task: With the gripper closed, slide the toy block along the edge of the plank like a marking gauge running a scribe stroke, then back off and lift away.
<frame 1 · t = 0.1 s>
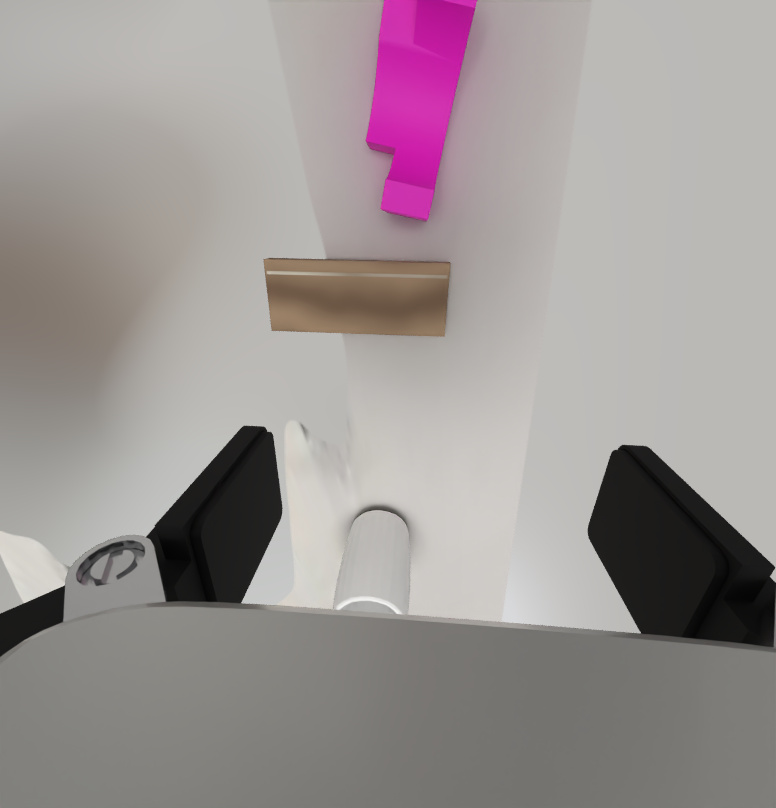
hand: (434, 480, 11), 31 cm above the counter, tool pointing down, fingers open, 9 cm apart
cup: (380, 525, 52), on the counter
plank: (358, 296, 39), on the counter
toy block: (411, 119, 33), on the counter
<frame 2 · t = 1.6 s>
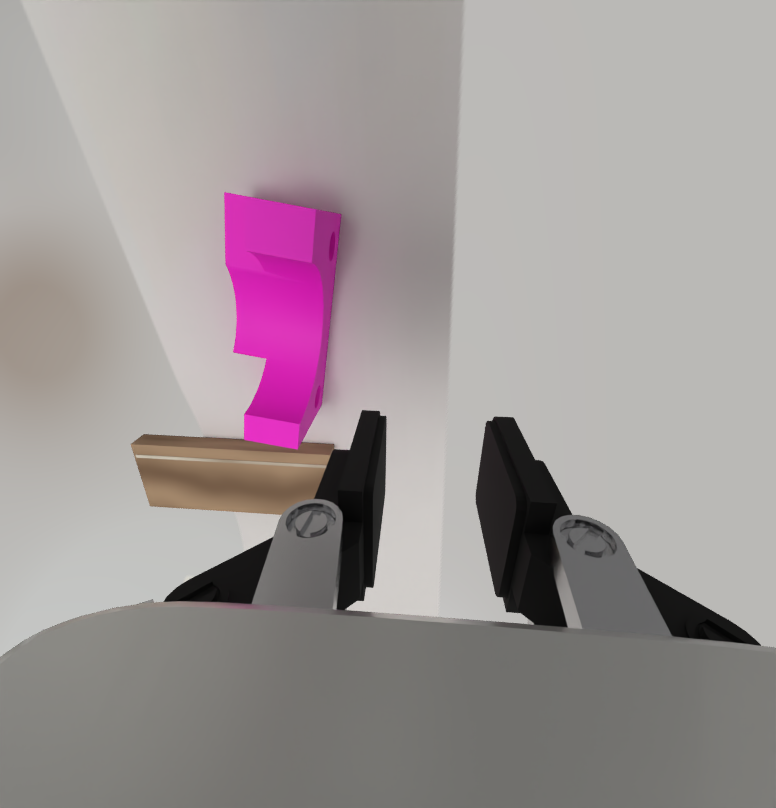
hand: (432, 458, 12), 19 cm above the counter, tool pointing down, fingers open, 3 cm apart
plank: (243, 470, 36), on the counter
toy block: (292, 311, 30), on the counter
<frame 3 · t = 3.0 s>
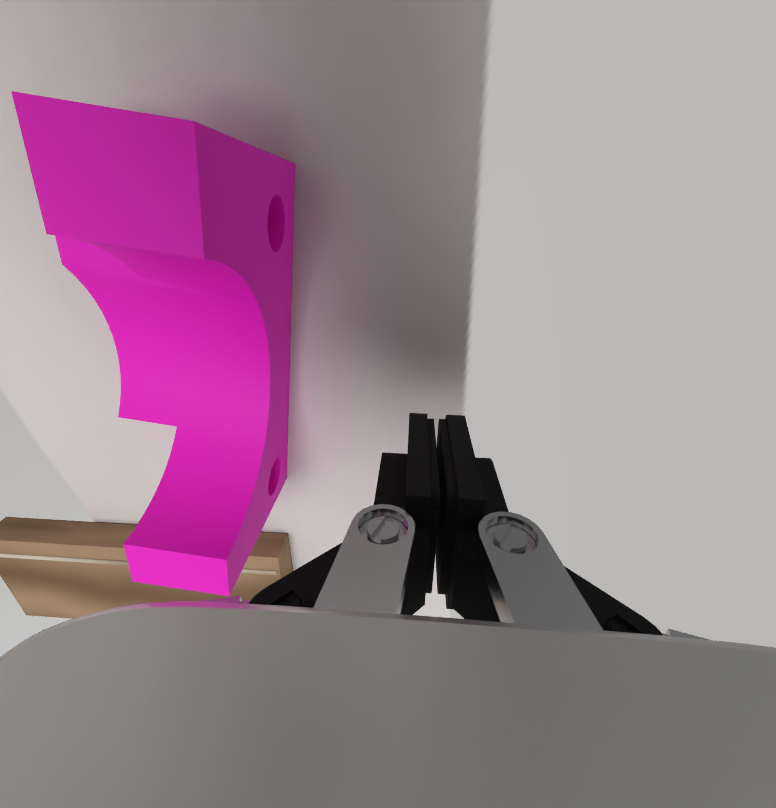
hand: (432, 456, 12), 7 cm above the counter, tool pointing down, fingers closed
plank: (158, 564, 25), on the counter
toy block: (227, 338, 18), on the counter
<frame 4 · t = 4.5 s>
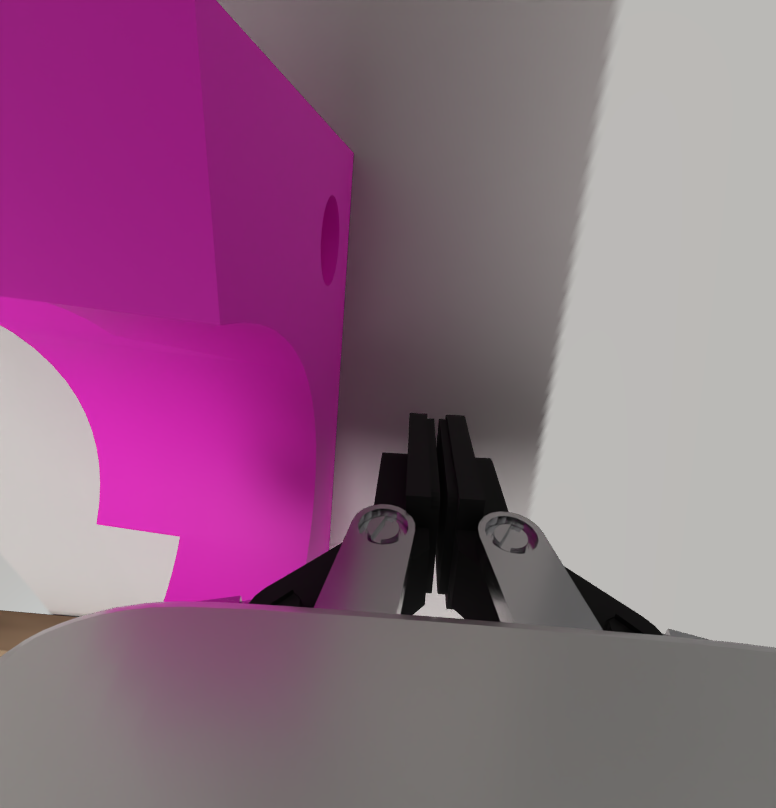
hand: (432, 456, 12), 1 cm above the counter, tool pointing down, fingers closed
plank: (130, 663, 20), on the counter
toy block: (249, 398, 13), on the counter, touching gripper
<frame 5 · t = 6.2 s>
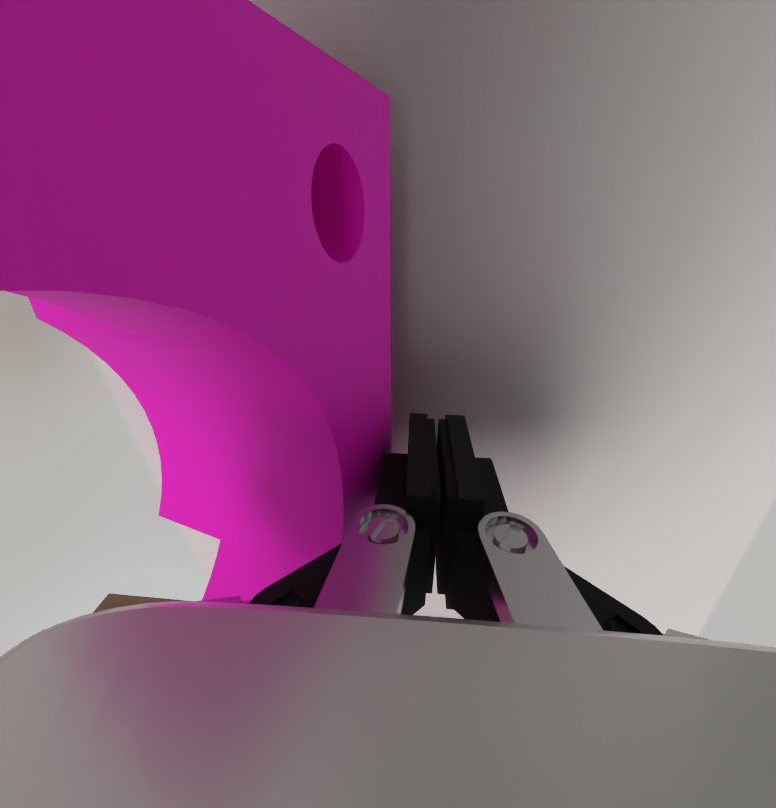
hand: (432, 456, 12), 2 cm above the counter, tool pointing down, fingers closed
plank: (291, 653, 20), on the counter
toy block: (305, 400, 12), point 1 cm above the counter, touching gripper
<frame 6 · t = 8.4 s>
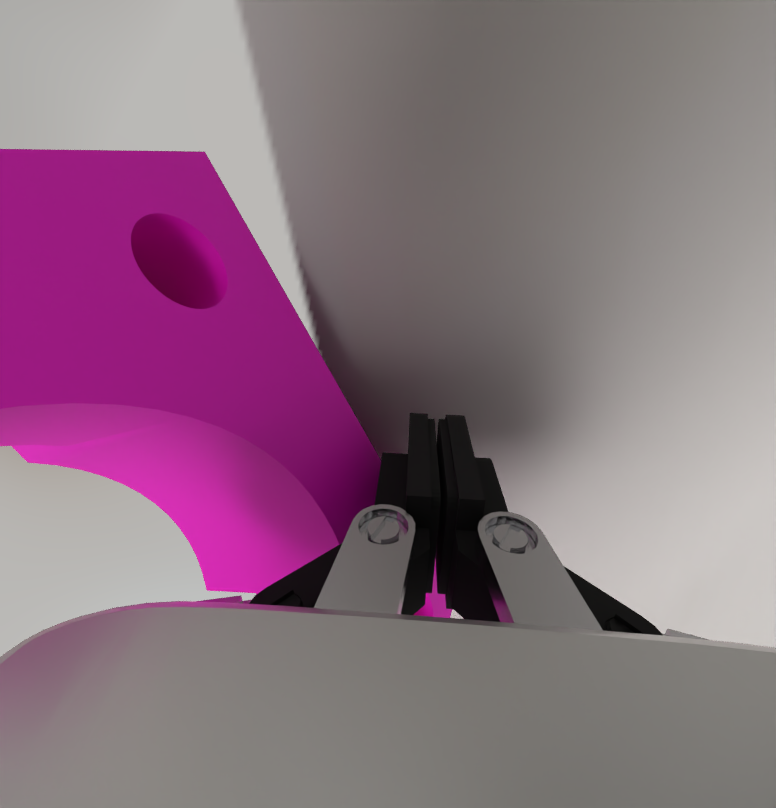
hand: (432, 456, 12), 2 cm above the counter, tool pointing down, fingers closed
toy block: (289, 439, 13), point 1 cm above the counter, touching gripper
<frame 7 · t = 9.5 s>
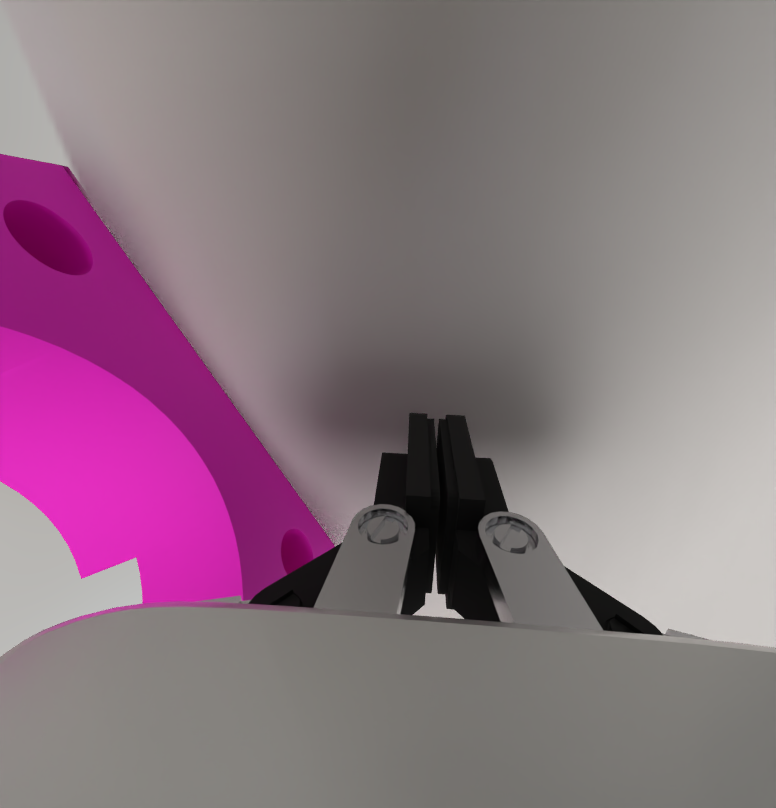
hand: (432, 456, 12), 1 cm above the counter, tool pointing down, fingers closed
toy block: (164, 421, 14), on the counter
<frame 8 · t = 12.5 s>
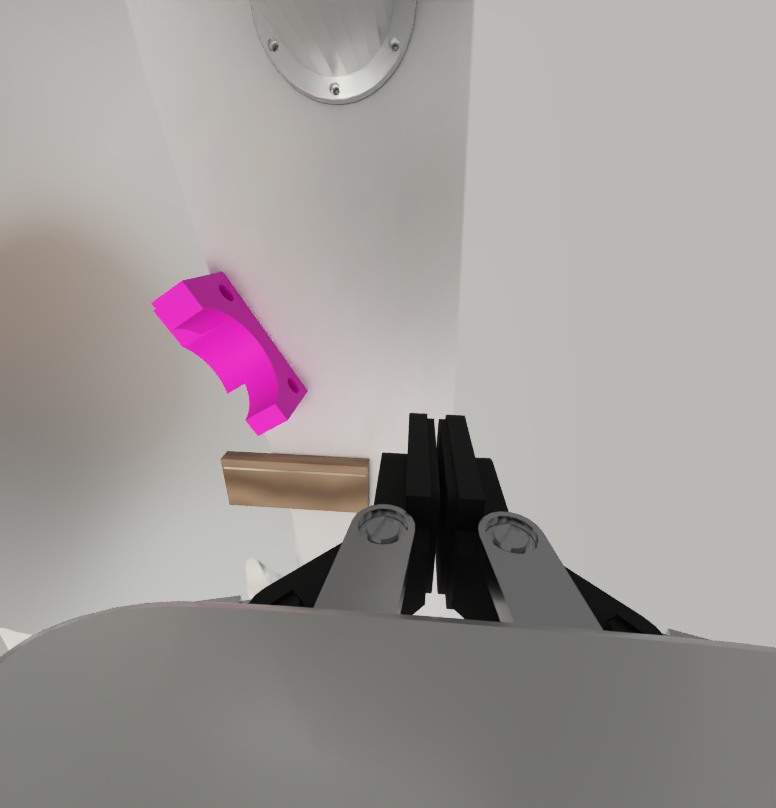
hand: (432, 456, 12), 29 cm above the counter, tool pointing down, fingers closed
plank: (299, 478, 49), on the counter
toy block: (247, 347, 42), on the counter
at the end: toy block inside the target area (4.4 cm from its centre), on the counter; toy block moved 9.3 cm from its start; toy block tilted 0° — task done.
